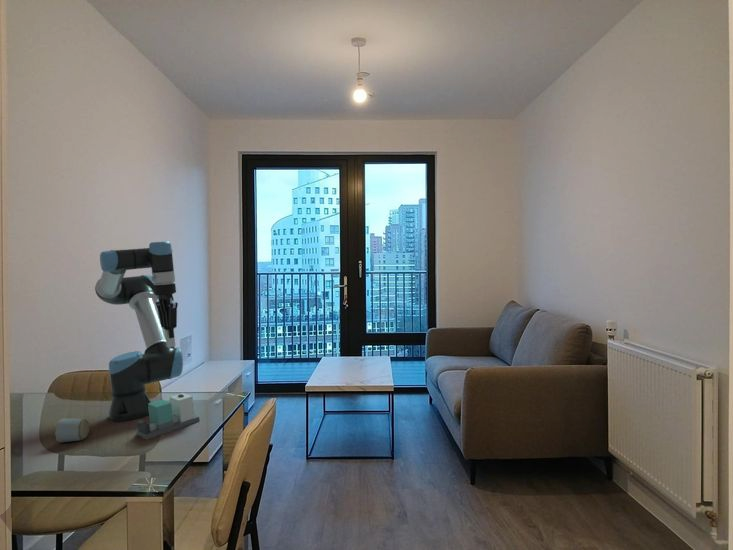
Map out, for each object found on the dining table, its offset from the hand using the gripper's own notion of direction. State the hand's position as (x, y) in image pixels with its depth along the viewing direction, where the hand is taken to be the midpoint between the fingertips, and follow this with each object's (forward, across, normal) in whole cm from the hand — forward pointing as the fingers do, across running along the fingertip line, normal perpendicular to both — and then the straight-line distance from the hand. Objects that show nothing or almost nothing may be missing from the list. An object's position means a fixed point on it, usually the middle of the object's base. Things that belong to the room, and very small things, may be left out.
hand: (170, 346), depth 182 cm
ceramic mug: (+27, -11, -32) cm, 43 cm away
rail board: (+26, +9, -8) cm, 29 cm away
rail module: (+25, +9, -10) cm, 28 cm away
